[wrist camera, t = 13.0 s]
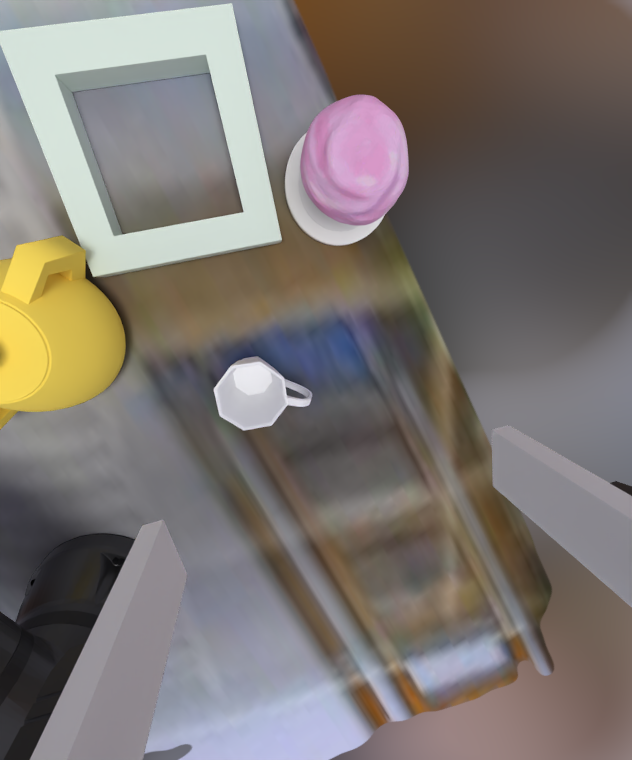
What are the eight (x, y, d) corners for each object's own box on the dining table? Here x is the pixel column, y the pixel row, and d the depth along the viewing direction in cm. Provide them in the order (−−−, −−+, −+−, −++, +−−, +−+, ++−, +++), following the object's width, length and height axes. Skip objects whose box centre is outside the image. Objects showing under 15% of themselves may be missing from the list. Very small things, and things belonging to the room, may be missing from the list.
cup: (229, 337, 36) (220, 352, 29) (313, 358, 39) (327, 376, 31) (216, 395, 38) (206, 424, 30) (298, 411, 40) (308, 442, 33)
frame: (105, 277, 33) (93, 276, 30) (18, 53, 27) (-5, 31, 24) (280, 242, 34) (281, 239, 32) (234, 26, 29) (231, 3, 26)
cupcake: (279, 208, 32) (288, 178, 23) (314, 116, 30) (339, 42, 21) (357, 249, 34) (394, 237, 25) (393, 165, 33) (448, 118, 23)
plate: (297, 254, 35) (298, 253, 34) (273, 135, 31) (273, 129, 30) (393, 235, 36) (398, 233, 35) (380, 118, 33) (385, 111, 31)
